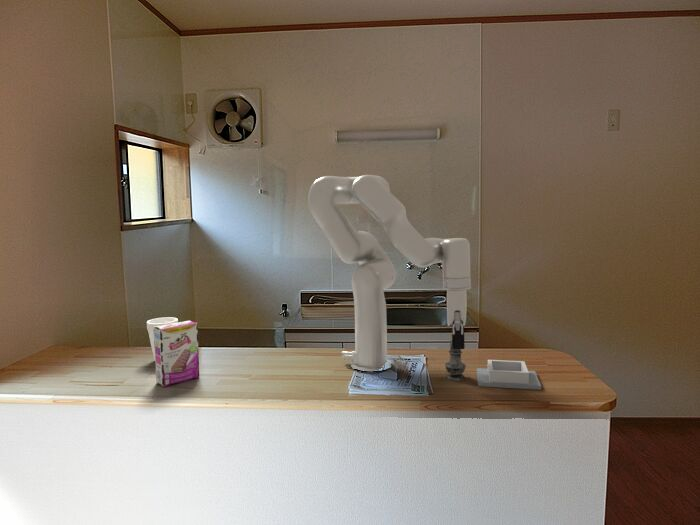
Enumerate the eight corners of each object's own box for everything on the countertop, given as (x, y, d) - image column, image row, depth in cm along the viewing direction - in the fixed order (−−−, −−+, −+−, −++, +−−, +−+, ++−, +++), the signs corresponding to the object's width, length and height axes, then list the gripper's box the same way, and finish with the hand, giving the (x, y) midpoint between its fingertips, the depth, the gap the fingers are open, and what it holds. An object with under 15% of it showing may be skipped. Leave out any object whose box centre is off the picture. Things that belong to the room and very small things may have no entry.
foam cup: (142, 362, 163) (140, 322, 161) (163, 354, 171) (161, 316, 170) (166, 365, 159) (163, 324, 158) (186, 357, 168) (184, 318, 166)
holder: (477, 386, 137) (478, 371, 136) (476, 371, 149) (476, 358, 148) (541, 389, 133) (541, 374, 133) (534, 374, 145) (535, 360, 145)
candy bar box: (163, 388, 140) (159, 329, 138) (155, 383, 144) (152, 326, 142) (201, 377, 148) (198, 322, 146) (192, 373, 151) (189, 319, 149)
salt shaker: (466, 381, 141) (466, 339, 139) (444, 380, 142) (444, 338, 140) (465, 374, 146) (466, 333, 145) (444, 373, 147) (445, 332, 146)
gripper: (443, 278, 150) (445, 336, 152) (441, 288, 133) (443, 352, 135) (470, 278, 148) (471, 336, 150) (471, 287, 131) (473, 352, 133)
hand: (458, 343), depth 142 cm, fingers open, 9 cm apart
